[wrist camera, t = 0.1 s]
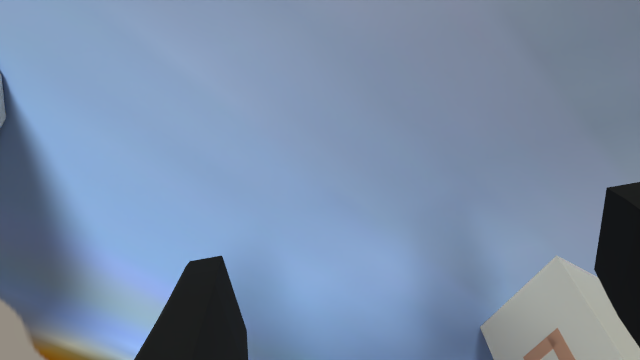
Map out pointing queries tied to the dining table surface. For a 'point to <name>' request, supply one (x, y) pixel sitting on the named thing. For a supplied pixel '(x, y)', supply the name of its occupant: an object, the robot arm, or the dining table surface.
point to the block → (559, 320)
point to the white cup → (2, 104)
